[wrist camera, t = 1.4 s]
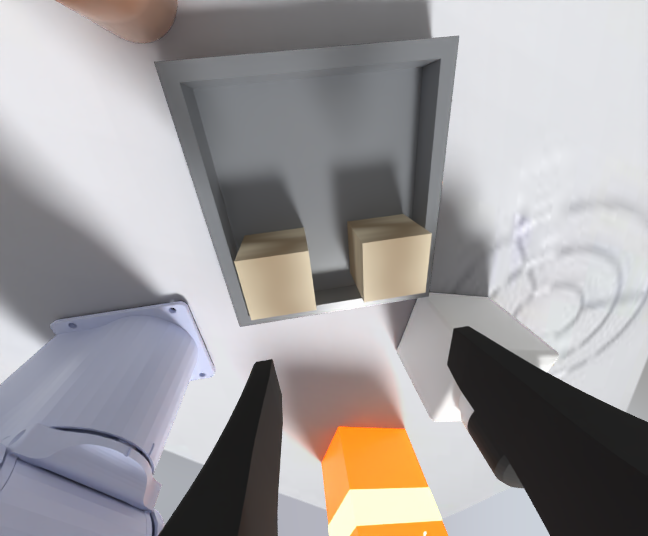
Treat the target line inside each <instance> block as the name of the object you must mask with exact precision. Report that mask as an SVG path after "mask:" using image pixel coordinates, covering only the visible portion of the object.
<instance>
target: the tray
mask: <svg viewBox="0 0 648 536" xmlns="http://www.w3.org/2000/svg"><path fill="white" fill-rule="evenodd" d="M458 42H459V36H449V37H438V38H426V39H415V40H403V41H391V42H380V43H368V44H357V45H345V46H333V47H322V48H310V49H298V50H287V51H275V52H264V53H252V54H240V55H229V56H217V57H206V58H194V59H182V60H171V61H159V62H154V63H155V67H156V70H157V73H158V76H159V79H160V82H161V85H162V88H163V91H164V94H165V97H166V101H167V104H168V107H169V110H170V113H171V116H172V119H173V122H174V125H175V128H176V131H177V134H178V138H179V141H180V144H181V147H182V150H183V153H184V156H185V159H186V162H187V165H188V168H189V171H190V175H191V178H192V181H193V184H194V187H195V190H196V193H197V196H198V199H199V202H200V205H201V209H202V212H203V215H204V218H205V221H206V224H207V227H208V230H209V233H210V236H211V239H212V242H213V246H214V249H215V252H216V255H217V258H218V261H219V264H220V267H221V270H222V273H223V276H224V279H225V283H226V286H227V289H228V292H229V295H230V298H231V301H232V304H233V307H234V310H235V313H236V317H237V320H238V323H239V326H240V327H242V326H248V325H255V324H261V323H267V322H273V321H280V320H286V319H292V318H298V317H304V316H311V315H317V314H323V313H329V312H336V311H342V310H348V309H354V308H360V307H367V306H373V305H379V304H385V303H391V302H398V301H404V300H410V299H416V298H423V297H429V291H430V283H431V274H432V265H433V257H434V248H435V240H436V231H437V223H438V214H439V205H440V197H441V188H442V180H443V171H444V162H445V154H446V145H447V137H448V128H449V120H450V111H451V102H452V94H453V85H454V77H455V68H456V59H457V51H458ZM399 214H404V215H406V216H407V217H409V218H410V219H411V220H413V221H414V222H416V223H417V224H419V225H420V226H422V227H423V228H425V229H426V230H428V231H429V232H430V233H432V236H431V246H430V255H429V264H428V273H427V283H426V292H425V293H419V294H413V295H407V296H401V297H394V298H388V299H382V300H376V301H369V302H364V301H363V299H362V297H361V295H360V292H359V290H358V288H357V286H356V284H355V282H354V280H353V277H352V275H351V273H350V263H349V245H348V227H347V221H355V220H362V219H370V218H377V217H384V216H392V215H399ZM303 227H304V230H305V235H306V240H307V245H308V251H309V258H310V265H311V272H312V280H313V287H314V294H315V302H316V309H317V310H313V311H307V312H300V313H294V314H288V315H281V316H275V317H269V318H263V319H256V320H251V318H250V314H249V311H248V307H247V304H246V300H245V297H244V294H243V290H242V287H241V283H240V280H239V277H238V273H237V270H236V266H235V263H234V261H235V258H236V256H237V253H238V251H239V248H240V246H241V243H242V241H243V238H244V236H245V235H252V234H259V233H267V232H274V231H281V230H289V229H296V228H303Z"/></svg>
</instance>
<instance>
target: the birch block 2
mask: <svg viewBox="0 0 648 536" xmlns="http://www.w3.org/2000/svg"><path fill="white" fill-rule="evenodd" d="M347 227H348V245H349V263H350V273H351V275H352V277H353V280H354V282H355V284H356V286H357V288H358V290H359V292H360V295H361V297H362V299H363V301H364V302H369V301H376V300H382V299H388V298H394V297H401V296H407V295H413V294H419V293H425V292H426V283H427V273H428V264H429V255H430V246H431V236H432V233H430V232H429V231H428V230H426V229H425V228H423V227H422V226H420V225H419V224H417V223H416V222H414V221H413V220H411V219H410V218H409V217H407V216H406V215H404V214H399V215H392V216H384V217H377V218H370V219H362V220H355V221H347Z"/></svg>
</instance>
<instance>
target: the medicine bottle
mask: <svg viewBox="0 0 648 536" xmlns="http://www.w3.org/2000/svg"><path fill="white" fill-rule="evenodd" d="M465 326H469V327H471V328H473V329H474V330H476V331H478V332H480V333H481V334H483V335H485V336H486V337H488V338H489V339H491V340H493V341H494V342H496V343H498V344H499V345H501V346H503V347H504V348H506V349H508V350H509V351H511V352H513V353H514V354H516V355H518V356H519V357H521V358H523V359H524V360H526V361H528V362H529V363H531V364H533V365H535V366H536V367H538V368H540V369H542V370H543V371H545V372H548V371H549V370H550V368H551V367H552V366H553V364H554V363H555V362H556V360H557V359H558V358H559V354H558V353H557V351H556V350H554V349H553V348H552V347H551V346H549V345H548V344H547V343H546V342H544V341H543V340H542V339H541V338H539V337H538V336H537V335H536V334H534V333H533V332H532V331H531V330H530V329H528V328H527V327H526V326H525V325H523V324H522V323H521V322H520V321H518V320H517V319H516V318H515V317H513V316H512V315H511V314H510V313H508V312H507V311H506V310H505V309H503V308H502V307H501V306H500V305H498V304H497V303H496V302H495V301H493V300H492V299H491V298H489V297H481V296H469V295H457V294H444V293H432V292H429V297H423V298H417V301H416V303H415V306H414V308H413V311H412V313H411V316H410V319H409V321H408V324H407V326H406V329H405V331H404V334H403V336H402V339H401V342H400V344H399V347H398V349H397V354H398V356H399V358H400V360H401V362H402V364H403V366H404V367H405V369H406V371H407V373H408V375H409V377H410V379H411V381H412V383H413V385H414V387H415V389H416V391H417V393H418V395H419V397H420V399H421V401H422V403H423V405H424V407H425V409H426V411H427V413H428V415H429V417H430V418H431V419H432V420H433V421H435V422H442V421H462V422H463V424H464V425H465V427H466V429H467V430H468V432H469V434H470V435H471V437H472V438H473V440H474V442H475V443H476V445H477V447H478V448H479V450H480V451H481V453H482V455H483V456H484V458H485V460H486V461H487V463H488V465H489V466H490V468H491V469H492V471H493V473H494V474H495V476H496V477H497V479H499V480H500V481H502V482H503V483H505V484H507V485H509V486H511V487H516V488H524V487H523V485H522V484H521V482H520V480H519V478H518V477H517V475H516V473H515V471H514V470H513V468H512V466H511V464H510V463H509V461H508V460H507V458H506V456H505V455H504V453H503V452H502V450H501V449H500V447H499V446H498V444H497V443H496V441H495V440H494V439H493V437H492V436H491V434H490V433H489V431H488V430H487V428H486V427H485V425H484V424H483V423H482V421H481V420H480V418H479V417H478V415H477V414H476V412H475V411H474V410H473V408H472V407H471V405H470V404H469V402H468V401H467V399H466V398H465V396H464V395H463V393H462V392H461V390H460V389H459V387H458V385H457V383H456V381H455V379H454V378H453V376H452V374H451V372H450V370H449V368H448V366H447V361H448V356H449V350H450V345H451V340H452V334H453V329H454V328H459V327H465Z"/></svg>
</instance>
